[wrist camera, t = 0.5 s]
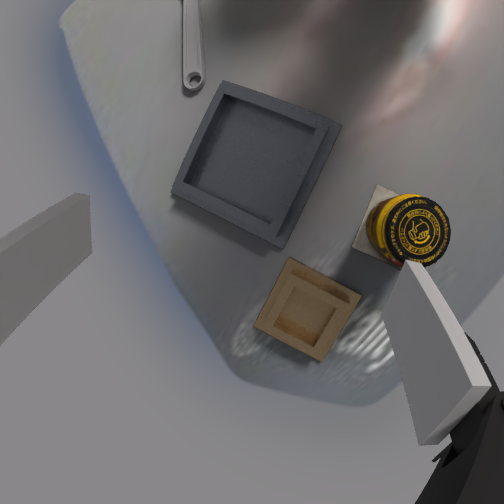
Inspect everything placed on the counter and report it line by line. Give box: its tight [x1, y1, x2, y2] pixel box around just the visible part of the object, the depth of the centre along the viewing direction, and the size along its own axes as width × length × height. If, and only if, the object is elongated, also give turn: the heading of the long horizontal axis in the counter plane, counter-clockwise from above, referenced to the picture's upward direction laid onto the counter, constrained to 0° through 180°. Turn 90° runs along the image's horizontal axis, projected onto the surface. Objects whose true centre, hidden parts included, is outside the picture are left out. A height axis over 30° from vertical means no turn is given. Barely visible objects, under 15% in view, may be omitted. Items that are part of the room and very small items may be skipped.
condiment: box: [352, 185, 451, 270], centre depth 26 cm, size 7×8×12 cm
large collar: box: [171, 80, 342, 249], centre depth 34 cm, size 15×15×3 cm
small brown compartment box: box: [254, 257, 362, 362], centre depth 34 cm, size 9×9×3 cm
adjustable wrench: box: [183, 0, 206, 91], centre depth 35 cm, size 25×6×2 cm, turn 0°
